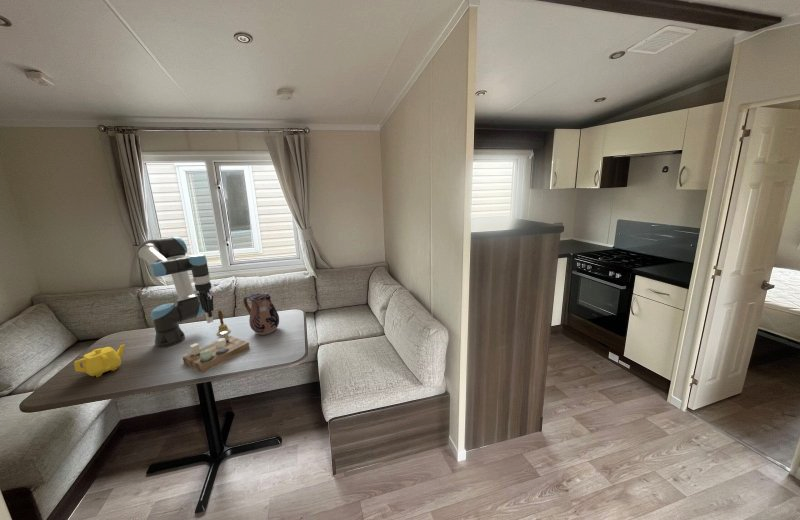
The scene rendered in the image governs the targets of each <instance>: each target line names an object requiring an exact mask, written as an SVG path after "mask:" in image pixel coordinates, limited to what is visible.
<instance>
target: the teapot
mask: <svg viewBox="0 0 800 520" xmlns="http://www.w3.org/2000/svg"><path fill="white" fill-rule="evenodd" d="M125 347H126V344H121V345H120V346H119V348H118V349H117V351H116V350H115V349H114V348H113V347H111V346H105V347H100V348H96V349H93V350H91V351H90V352H88V353H86V354H85V353H84V355H83V358H81V359H77V360H74V371H75V372H81V373H86V375H88V376H91V377H95V376H96V377H95V378H99V376H100V377H102V376H103V373H106V372H108V371H111V372H113V371H117V370H118V367H119V366H121V364H122V360H121V359H122V356H123V353H124V351H125ZM81 363H82V366H81ZM116 369H117V370H116ZM101 375H102V376H101Z"/></svg>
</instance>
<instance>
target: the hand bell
mask: <svg viewBox="0 0 800 520" xmlns="http://www.w3.org/2000/svg"><path fill="white" fill-rule="evenodd" d="M217 316H218V319H219V321H220V325H219V326H218V330H217V333H216V336H218V337H219V336H220V333H221V332H223V331H226V332H228V335H229V334H230V333H231V332H232V330H231V329H229V328H228V326H227V324H226V323H224V314H223V311H221V309H219V310H218V311H217Z"/></svg>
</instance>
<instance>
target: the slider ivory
mask: <svg viewBox="0 0 800 520" xmlns="http://www.w3.org/2000/svg"><path fill="white" fill-rule="evenodd" d="M200 349H201V348H200V345H199V343H197V342H194V343H193V344H191V345H189V350H190V353H192V355H197V354H199V353H200Z"/></svg>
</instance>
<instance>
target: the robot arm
mask: <svg viewBox="0 0 800 520" xmlns="http://www.w3.org/2000/svg"><path fill="white" fill-rule="evenodd" d="M136 253H137V256H138V257H139V258H140V259H141V260H142V261H146V262H147V263H148V264H149V266H150V268H149V269H150V271H151V274H152V276H153V277H155V278H158V277H165V276H169V275H171V277H172V281H173V284H174V287H175V291H176V294H177V297H178V298H177V300H176V304H174V303H172V302H168V303H164V304H161V305H158V306H156V307H155V308H153V309H152V310H151V312H150V314H151V315H150V316H151V320H152V324H153V326H154V331H155V336H154V337H155V338H154V346H155V347H156V348H169V347H171V346H174V345H178V344H180V343H182V342H183V341H184V340H185V339H186V334H185V333H184V331H183V330H182V329H181V327H180V325H179V323H183V322H185V321H189V320H192V319H197V318H199V317H201V316H203V315H204V313H205V318H206V323H207V324H210V323H213V322H214V317H213V311H214V295H211V292H210V290H211V289H212V283H211V277H210V272H209V268H208V267H209V266H208V260H207V257H206V255H205V254H200V253H198V254H193V255H187V256H186V254H187V253H188V247H187V243H186V242H185V241H184V239H183V238H182V237H180V236H168V237H162V238H155V239H154V238H152V239H148V240H146V241H144V242H142V243H141V244H140V245H138V248H137V252H136ZM189 271H191V274H192V280H193V283H194V288H193V285H192V282H191V279H190V274H189ZM194 289H195V291H196V292H198V293H196V294H195V292H194Z"/></svg>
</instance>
